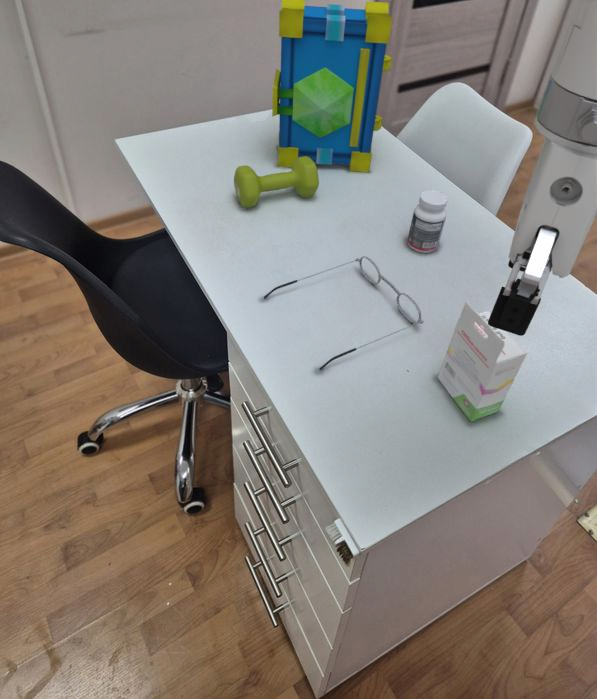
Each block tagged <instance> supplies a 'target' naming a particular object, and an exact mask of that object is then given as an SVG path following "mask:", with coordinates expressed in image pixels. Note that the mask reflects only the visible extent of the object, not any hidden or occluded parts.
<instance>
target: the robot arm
mask: <svg viewBox="0 0 597 699" xmlns="http://www.w3.org/2000/svg"><path fill="white" fill-rule="evenodd" d="M533 126H534V127H535V129H536V131H537V132H538V133H539V134H540V135H541V136H542V137H544V142H543V144H542V147H541V150H540V152H539V155H538V158H537V160H536V162H535V165H534V169H533V171H532V174H531V177H530V180H529V182H528V186H527V189H526V192H525V195H524V197H523V201H522V204H521V208H520V211H519V214H518V217H517V222H516V225H515V230H514V232H513V237H512V241H511V245H510V248H509V253H508V259H509V261H508V264H507V265H508V268H510V269H511V271H510V273H509V277H508V278H507V282H506V284H505V286H501V288H500V290H499V293H498V296H497V298H496V300H495V303H494V305H493V307H492V310H491V312H490V314H491V315H490V318H489V320H488V324H489V325H490V326H492V327H495V328H498V329H501V330H504V331H507V332H508V333H509V334H514V335H516V336H519V337H521V336H522V337H523V336H524V335H525V334H526V333H527V332H528V328H529V326H530V325H531V322H532V320H533V319H534V316H535V313H536V312H537V310H538V308H539V306H540V304H541V301H542V298H541V296H542V294H543V292H544V288H545V286H546V283H547V281H548V279H549V276H550V273H551V272H552V275H553V276H558V278H561V279H564V278H566V277H568V276H569V275H570V274H571V272H572V270H573V267H574V265H575V263H576V260H577V258H578V255H579V254H580V251H581V249H582V248H583V245H584V243H585V241H586V238H587V237H588V234H589V232H590V230H591V227H592V225H593V224H594V221H595V220H596V217H597V0H576V2H575V5H574V8H573V10H572V14H571V17H570V19H569V21H568V24H567V27H566V30H565V34H564V36H563V38H562V42H561V45H560V48H559V50H558V52H557V56H556V58H555V61H554V64H553V67H552V69H551V73H550V75H549V78H548V81H547V83H546V86H545V90H544V92H543V95H542V98H541V100H540V103H539V106H538V109H537V112H536V114H535V117H534V119H533ZM519 272H523V273H522V275H521V278H518V275H519Z"/></svg>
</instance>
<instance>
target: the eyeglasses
mask: <svg viewBox="0 0 597 699" xmlns="http://www.w3.org/2000/svg"><path fill="white" fill-rule="evenodd" d="M363 259H366V260H367V261H368V262H370V263H371V264H372V265H373V267H374V268H375V270H376V272H377V275H378V279H377V282H376V281H373V280H371V279H370V277H369V276H368V275H367V274H366V272H365V270H364V268H363V264H362V262H363ZM354 262H358V265H359V269H360V271H361V273H362V275H363V277H364V278H365V279H366V280H367V281H368V282H370V283H371V284H373V285H378V284H380V282H381V280H382V281H383V282H384V283H385V284H387V286H389V287H390V288H391V289H392V290H393V291H394V293H395V294H397V296H396V305H397V308H398V309H399V311H400V313H401V315H402V316H403V317H404V318H405V319H406V320H407V321H409V322H410V323H412V325H409V326H406V327H404V328H402V329H399V330H397V331H394V332H392V333H389V334H388V335H385V336H383V337H380V338H378V339H375V340H373V341H370V342H368V343H365V344H364V345H363V344H362V345H361V346H359V347H354V348H352V349H349V350H347V351H344V352H342V353H339V354H337V355H335V356H333V357H332V358H330V359H329V360H327V361H326V362H325V363H324V364H323V365H322V366H320V368H318V370H319V371H322V370H324V368H326V366H328V365H329V364H330V363H332V362H333V361H334V360H336V359H339V358H341V357H343V356H346V355H348V354H350V353H353V352H355V351H357V350H358V349H361V348H363V347H366V346H367V345H370V344H373V343H375V342H377V341H380V340H383V339H385V338H387V337H389V336H392V335H394V334H396V333H399V332H402V331H404V330H406V329H409V328H411V327H413V326H416V325H418V324H419V325H420V324H421V325H422V324H424V320H423V319H422V311H421V309H420V307H419V305H418V303H417V302H416V301H415V300H414V299H413V298H412V297H411V296H410V295H409V294H407V293H405V292H400V290H399V289H398V288H397V287H396V286H395V285H394V284H393V283H392V282H391V281H390V280H388V278H386V277H385V276H384V275H383V274H381V271H380V269H379V266H377V263H375V261H373V260H372V259H371V258H370V257H369V256H364V255H363V256H361V257H356V259H355V260H352V261H349V262H346V263H343V264H340V265H337V266H335V267H332V268H329V269H326V270H323V271H320V272H317V273H315V274H312V275H309V276H305V277H303V278H300V279H295V280H292V281H288V282H286V283H283V284H281V285H278V286H276V287H274V288H273V289H271V290H269V292H268V293H266V294H265V295H264V296H263V299H264V300H266V299H267V298H268V297H269V296H270V295H271V294H272V293H274V292H275V291H277V290H279V289H282V288H284V287H287V286H291V285H293V284H295V283H298V282H300V281H302V280H305V279H309V278H311V277H314V276H316V275H319V274H323V273H325V272H328V271H331V270H334V269H337V268H339V267H342V266H345V265H348V264H350V263H354ZM402 295H403V296H405V297H406V298H407V299H408V300H410V302H411V303H412V304H413V305H414V307H415V308H416V310H417V313H418V319H417V321H414V320H412V318H410V317H409V316H408V315H407V314H406V313H405V311H404V310H403V308H402V306H401V303H400V297H401V296H402Z"/></svg>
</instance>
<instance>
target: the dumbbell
mask: <svg viewBox="0 0 597 699" xmlns="http://www.w3.org/2000/svg"><path fill="white" fill-rule="evenodd" d="M319 185H320V178H319V170H318V166H317V164H316V163H314V162H313V161H312V159H311V158H309V157H308V156H303V157H299V158H298V159H297V160H296V161H295V163H294V165H293V167H291V171H286V172H285V171H284V172H277V173H276V172H275V173H269V174H266V175H261V176H260V175H258V174H257V173H256V172H255V170H254V168H252V167H251V166H249V165H238V166H237V167H236V168H235V170H234V176H233V186H234V193H235V196H236V199H237V200H238V202H239V203H240V205H241V206H242V207H243V208H245V209H249V208H253V207H255V206H256V205H257V204H258V202H259V200H260V197H261V194H262V193H266V192H274V191H279V190H286V189H290V188H294V189H295V191H296V192H297V194H298V195H300V196H301V197H302V198H310V197H312V196H315V194H316V192H317V190H318V189H319Z"/></svg>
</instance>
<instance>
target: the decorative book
mask: <svg viewBox="0 0 597 699" xmlns="http://www.w3.org/2000/svg"><path fill="white" fill-rule="evenodd" d="M389 4H390V3H389V2H381V1H367V0H366V1H365V8H364V9H363V8H361V9H360V8H345V6H346V5H345V4H335V3H326V6H316V5H315V6H313V5H306V0H281V9H279V10H278V12H279V13H278V21H279V22H278V37H279V38H280V41H281V42H280V43H281V44H280V70H279V69H277V68H276V69H275V74H274V79H273V84H272V106H271V107H272V108H271V111H272V112H271V114H272V116H271V117H276V116H278V115H279V127H278V128H279V129H278V145H277V146H278V147H277V167H279V168H293V165H294V163H295V161H296V160H297V159H298V158H299V157H303V156H308V157H309V158H311V159H312V161H313V162H314V163H315V164H316V165H327V166H331V165H345V166H346V165H348V166H349V172H359V173H360V172H361V173H370V169H371V162H372V155H373V150H372V144H373V138H374V132H378V131H379V130H381V129H382V124H383V120H384V119H383V117H381V116H380V115H378V114H377V111H378V105H379V104H378V103H379V96H380V90H381V83H382V78H383V77H382V76H383V73H387V72H390V70H391V69H392V68H391V67H392V62H393V57H391V56H389V55H388V54H386V50H387V44H388V45H389V42H390V37H391V31H392V30H391V29H392V24H393V16H389V12H390V11H389V9H390V8H389Z"/></svg>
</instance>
